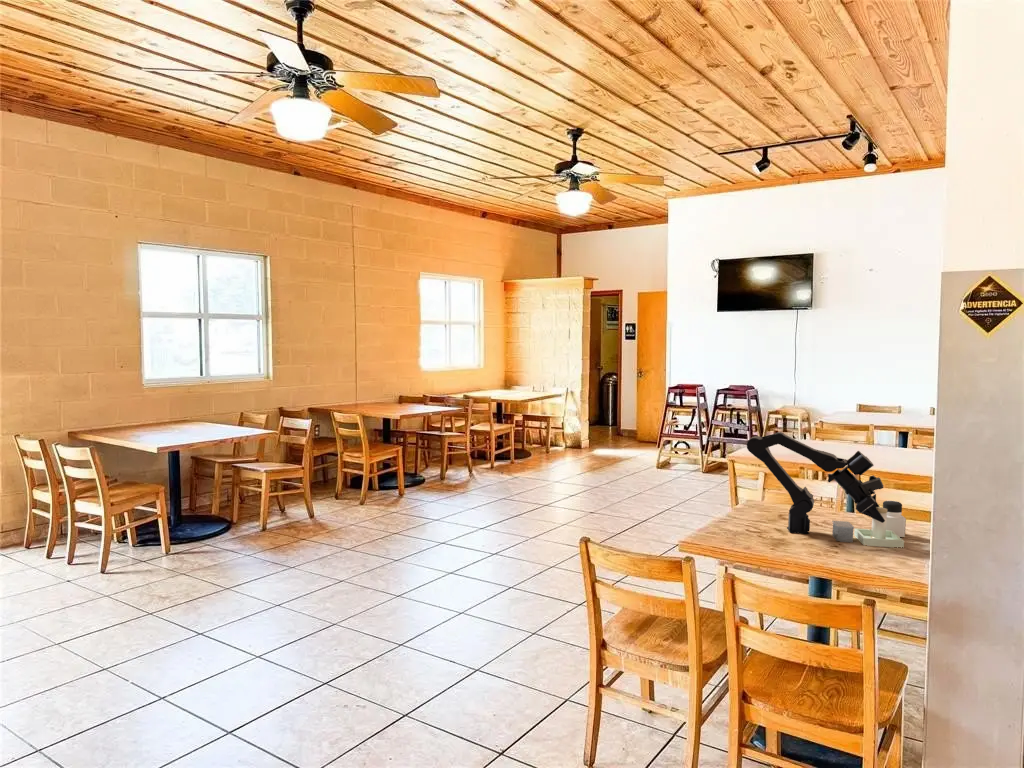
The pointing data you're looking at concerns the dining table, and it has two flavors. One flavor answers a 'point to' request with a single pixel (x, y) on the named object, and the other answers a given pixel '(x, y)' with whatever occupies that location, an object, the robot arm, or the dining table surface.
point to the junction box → (843, 531)
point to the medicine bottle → (895, 518)
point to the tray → (866, 539)
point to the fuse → (879, 525)
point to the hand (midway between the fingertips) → (883, 519)
